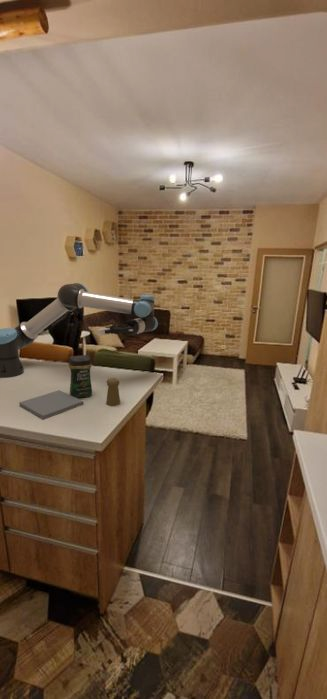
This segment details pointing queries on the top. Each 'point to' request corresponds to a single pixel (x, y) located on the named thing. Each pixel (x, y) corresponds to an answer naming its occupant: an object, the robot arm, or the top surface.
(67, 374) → the top surface
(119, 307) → the robot arm
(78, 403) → the mat
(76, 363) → the coffee jar
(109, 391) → the cork
